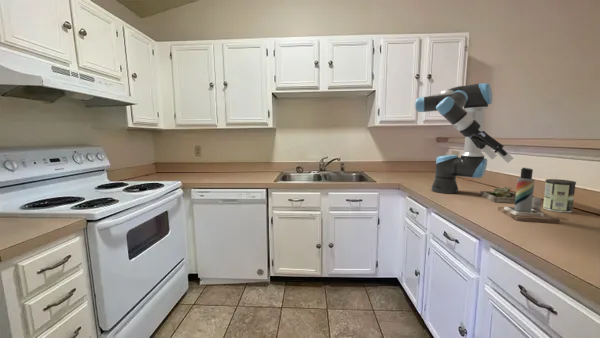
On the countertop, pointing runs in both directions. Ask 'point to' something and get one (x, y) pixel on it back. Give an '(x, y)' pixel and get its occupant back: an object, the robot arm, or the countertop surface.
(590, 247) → the countertop surface
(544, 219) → the template board
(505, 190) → the fruit
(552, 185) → the coffee can
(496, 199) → the square wooden tray
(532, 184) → the lotion bottle
